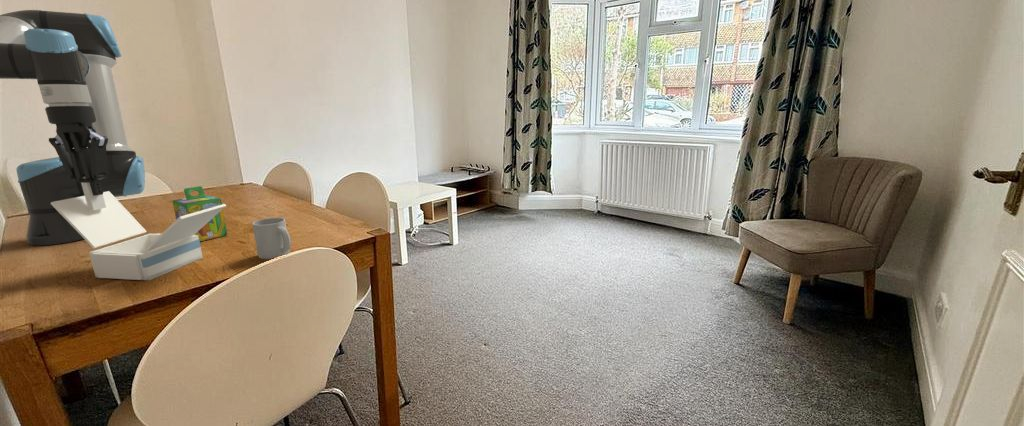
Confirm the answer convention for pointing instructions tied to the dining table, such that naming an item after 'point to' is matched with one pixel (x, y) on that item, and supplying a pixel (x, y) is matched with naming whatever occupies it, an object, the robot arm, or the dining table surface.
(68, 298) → the dining table surface
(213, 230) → the chalk box
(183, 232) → the flap
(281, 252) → the cup
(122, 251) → the carton
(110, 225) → the flap
